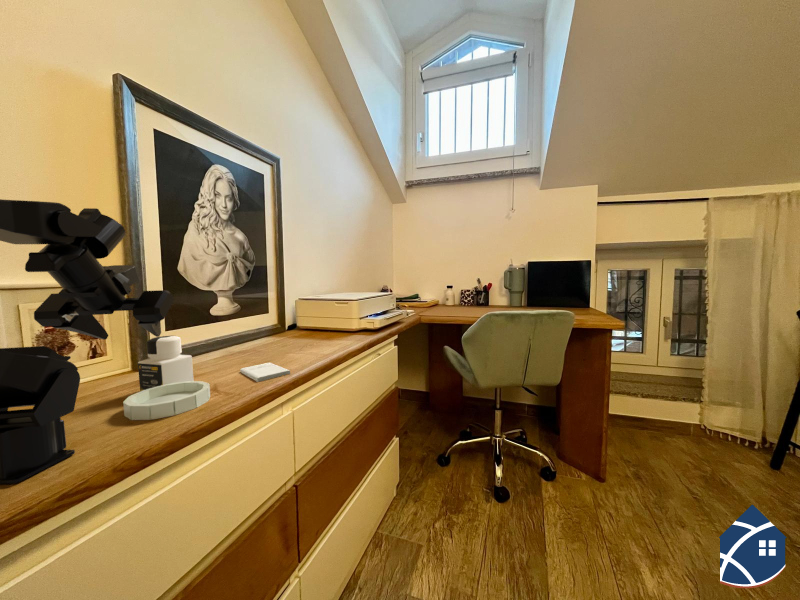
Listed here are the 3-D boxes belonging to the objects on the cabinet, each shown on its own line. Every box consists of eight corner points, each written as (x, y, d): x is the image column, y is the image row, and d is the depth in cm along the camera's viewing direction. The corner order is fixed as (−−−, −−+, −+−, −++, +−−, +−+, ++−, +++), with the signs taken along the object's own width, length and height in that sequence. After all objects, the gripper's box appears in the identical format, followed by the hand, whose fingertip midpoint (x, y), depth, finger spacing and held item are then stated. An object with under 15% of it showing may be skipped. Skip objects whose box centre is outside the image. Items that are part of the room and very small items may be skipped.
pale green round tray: (176, 419, 52) (175, 405, 52) (105, 420, 52) (103, 406, 52) (223, 391, 65) (222, 380, 65) (165, 392, 65) (164, 381, 65)
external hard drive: (257, 384, 71) (240, 374, 80) (290, 376, 77) (271, 367, 86) (257, 377, 71) (239, 368, 80) (290, 369, 77) (270, 361, 86)
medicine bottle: (139, 393, 66) (134, 339, 65) (172, 382, 72) (168, 333, 72) (162, 396, 64) (158, 340, 63) (194, 384, 70) (191, 334, 70)
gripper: (166, 247, 56) (197, 305, 67) (47, 247, 52) (100, 309, 63) (139, 287, 48) (179, 345, 59) (-3, 291, 45) (68, 352, 56)
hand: (133, 336), depth 59 cm, fingers open, 9 cm apart
